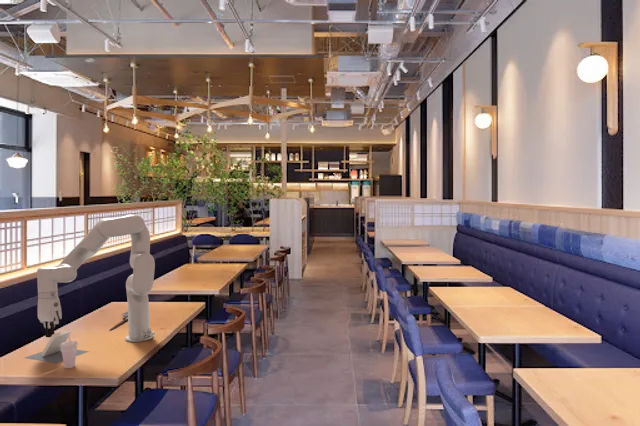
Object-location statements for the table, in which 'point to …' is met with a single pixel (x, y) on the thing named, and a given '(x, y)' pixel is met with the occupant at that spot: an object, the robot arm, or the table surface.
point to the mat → (52, 356)
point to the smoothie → (69, 352)
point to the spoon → (121, 321)
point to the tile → (55, 343)
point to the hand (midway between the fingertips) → (50, 336)
